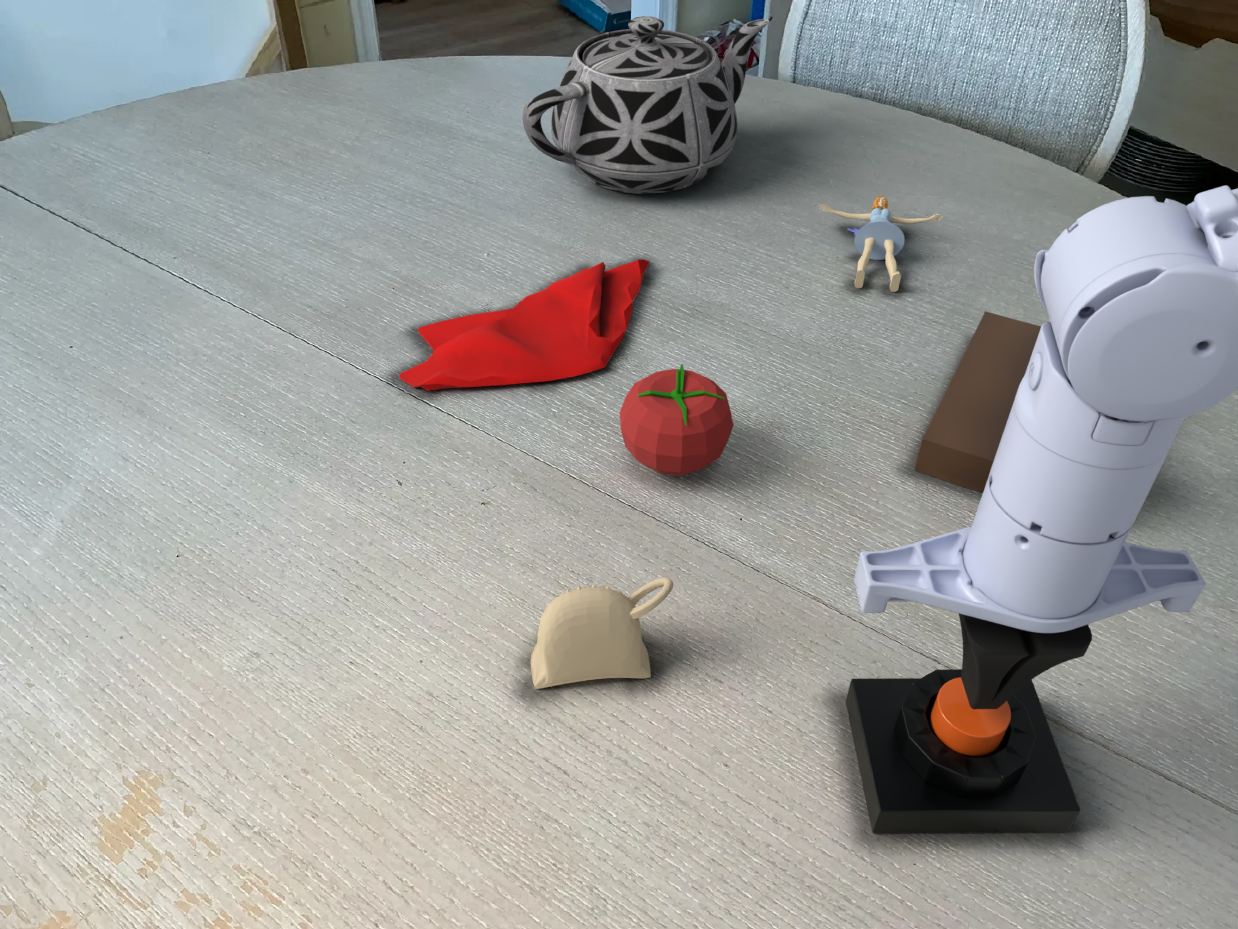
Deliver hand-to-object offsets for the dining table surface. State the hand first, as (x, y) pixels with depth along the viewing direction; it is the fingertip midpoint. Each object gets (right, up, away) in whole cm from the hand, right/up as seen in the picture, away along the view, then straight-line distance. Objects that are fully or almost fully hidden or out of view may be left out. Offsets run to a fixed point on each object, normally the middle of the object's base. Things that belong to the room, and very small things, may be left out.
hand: (979, 692), depth 50 cm
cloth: (-24, +22, +34) cm, 47 cm away
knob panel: (+13, +13, +25) cm, 31 cm away
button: (0, -2, +2) cm, 3 cm away
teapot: (-14, +43, +58) cm, 73 cm away
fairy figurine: (+6, +30, +44) cm, 53 cm away
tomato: (-14, +12, +23) cm, 29 cm away
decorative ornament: (-19, 0, +10) cm, 21 cm away
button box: (0, -5, +4) cm, 6 cm away
